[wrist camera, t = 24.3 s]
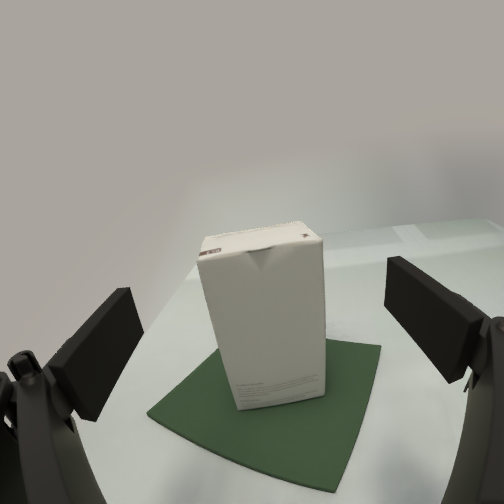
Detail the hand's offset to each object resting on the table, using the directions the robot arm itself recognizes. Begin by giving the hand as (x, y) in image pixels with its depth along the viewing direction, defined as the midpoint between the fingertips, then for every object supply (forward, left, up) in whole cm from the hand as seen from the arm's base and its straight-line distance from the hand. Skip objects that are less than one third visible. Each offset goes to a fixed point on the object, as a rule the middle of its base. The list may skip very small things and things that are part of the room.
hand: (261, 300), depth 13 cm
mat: (-4, +7, -14) cm, 16 cm away
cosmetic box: (-3, +6, -14) cm, 15 cm away
